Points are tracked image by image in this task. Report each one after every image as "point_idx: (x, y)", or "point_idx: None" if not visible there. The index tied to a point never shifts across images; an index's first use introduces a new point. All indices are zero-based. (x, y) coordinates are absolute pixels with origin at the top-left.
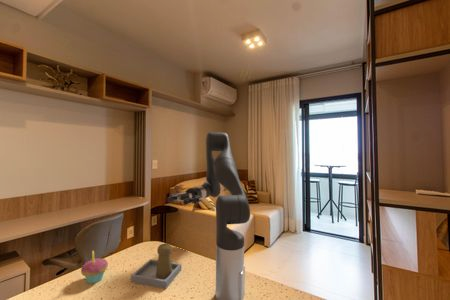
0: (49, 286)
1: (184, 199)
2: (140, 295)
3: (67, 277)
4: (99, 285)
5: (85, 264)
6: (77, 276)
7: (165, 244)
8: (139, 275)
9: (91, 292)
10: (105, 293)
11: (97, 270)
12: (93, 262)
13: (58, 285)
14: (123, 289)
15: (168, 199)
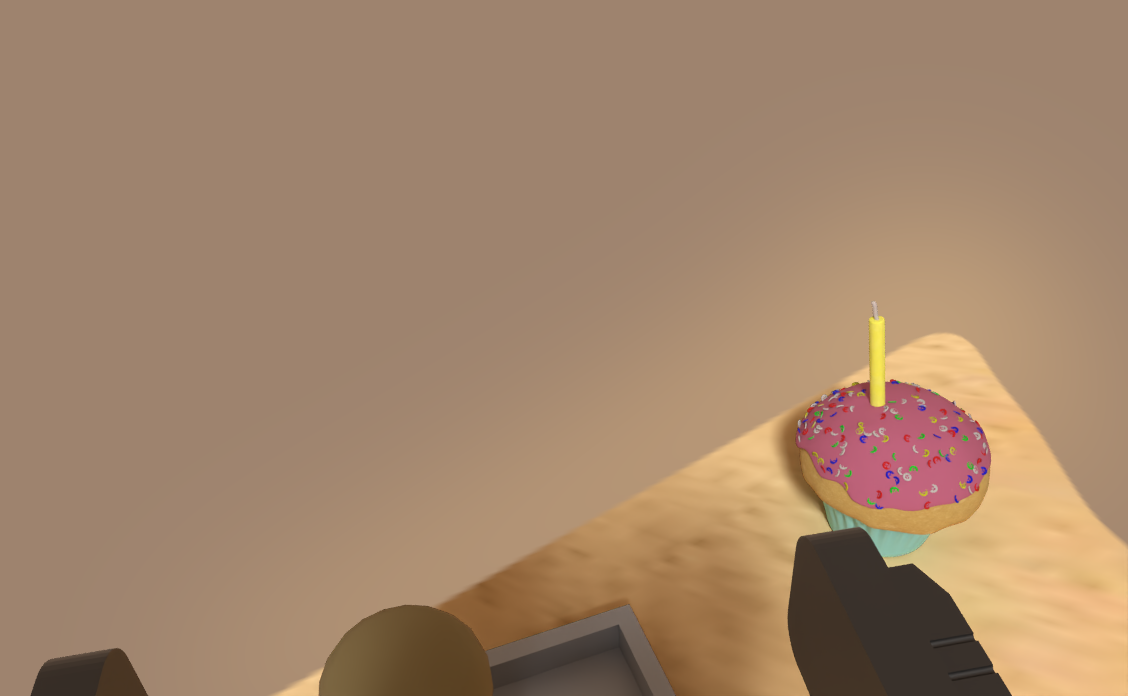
0: (980, 376)
1: (89, 668)
2: (436, 606)
3: (1037, 443)
4: (773, 514)
5: (906, 384)
6: (1009, 476)
7: (396, 668)
8: (570, 639)
9: (731, 467)
10: (652, 503)
11: (802, 433)
12: (870, 398)
13: (958, 400)
14: (596, 576)
15: (800, 563)
